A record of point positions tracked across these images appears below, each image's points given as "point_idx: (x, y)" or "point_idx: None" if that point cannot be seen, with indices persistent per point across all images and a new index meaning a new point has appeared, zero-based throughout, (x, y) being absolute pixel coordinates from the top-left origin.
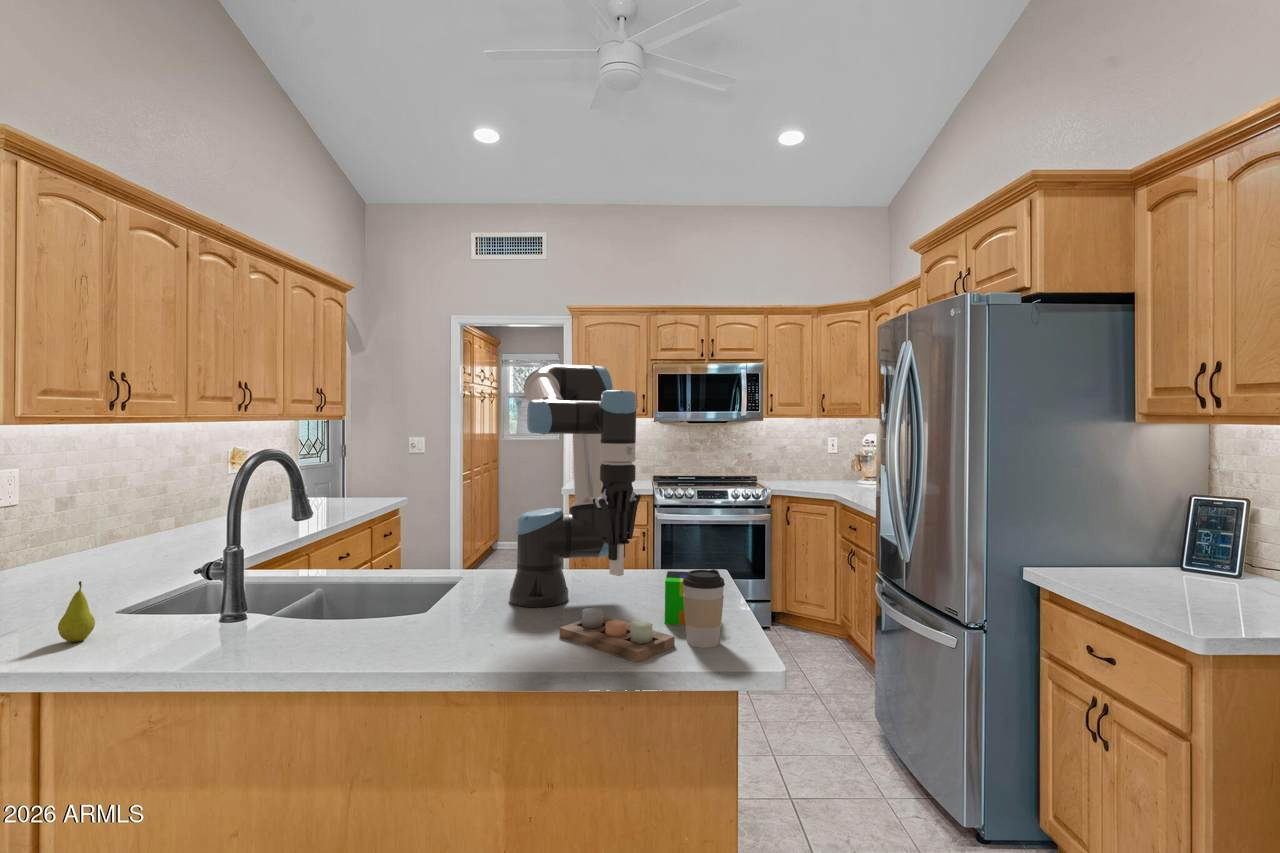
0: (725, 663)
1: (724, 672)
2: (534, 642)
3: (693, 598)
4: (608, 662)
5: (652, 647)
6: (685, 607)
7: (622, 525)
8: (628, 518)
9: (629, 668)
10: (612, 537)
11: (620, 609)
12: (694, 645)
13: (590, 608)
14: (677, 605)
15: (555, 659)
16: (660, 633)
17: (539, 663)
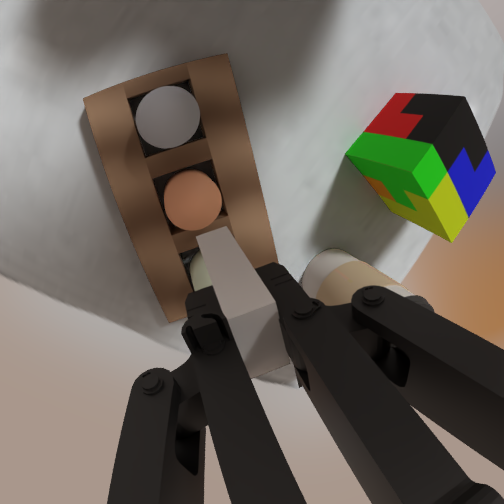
0: None
1: (262, 379)
2: (27, 113)
3: None
4: (119, 289)
5: None
6: None
7: (341, 452)
8: (456, 415)
9: (143, 326)
10: (200, 443)
11: (329, 12)
12: (303, 288)
13: (174, 94)
14: (386, 181)
15: (33, 231)
16: (271, 255)
17: (5, 236)
